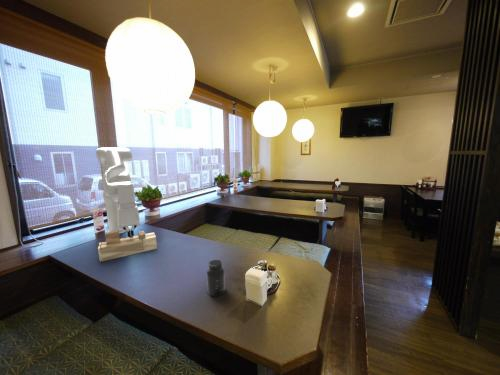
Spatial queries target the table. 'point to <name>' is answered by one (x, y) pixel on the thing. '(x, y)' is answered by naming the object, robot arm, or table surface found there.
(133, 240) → the lid
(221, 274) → the supplement bottle
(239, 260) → the table surface
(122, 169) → the robot arm
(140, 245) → the light wooden long piece
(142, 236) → the brown wooden block
